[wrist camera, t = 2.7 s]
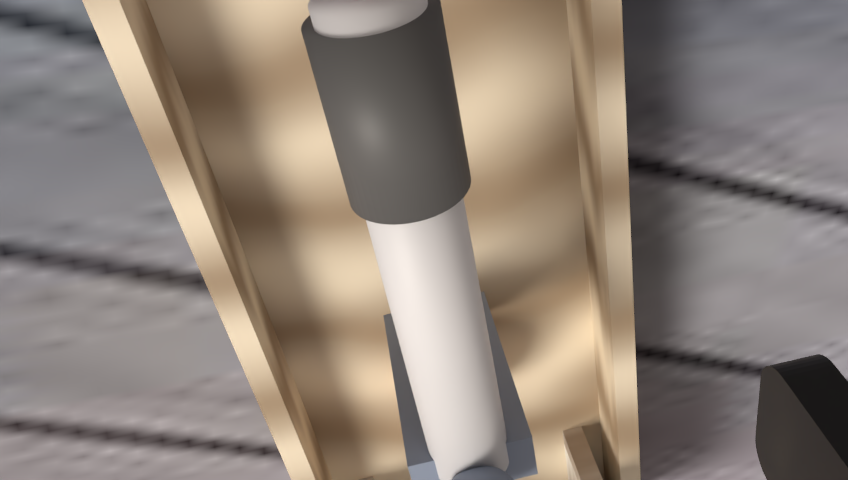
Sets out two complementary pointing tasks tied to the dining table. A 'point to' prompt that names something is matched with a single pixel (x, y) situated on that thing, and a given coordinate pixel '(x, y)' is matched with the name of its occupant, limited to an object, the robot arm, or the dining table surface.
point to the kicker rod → (419, 232)
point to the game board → (349, 236)
